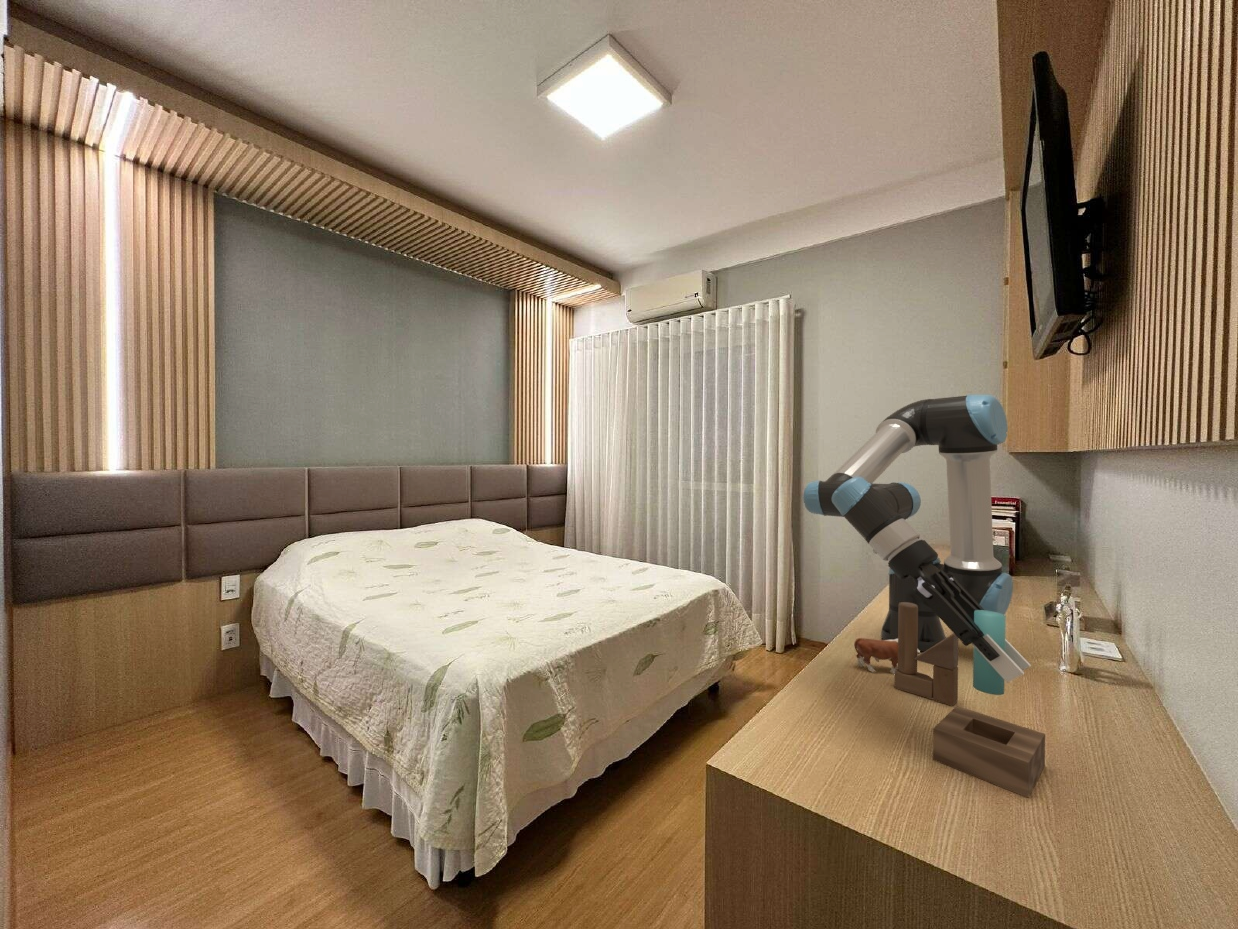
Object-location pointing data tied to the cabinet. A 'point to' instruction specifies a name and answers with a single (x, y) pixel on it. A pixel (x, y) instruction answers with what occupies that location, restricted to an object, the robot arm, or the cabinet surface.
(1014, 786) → the socket block
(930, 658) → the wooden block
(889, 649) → the bull figurine
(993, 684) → the peg
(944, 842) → the cabinet surface
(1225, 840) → the cabinet surface
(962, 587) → the robot arm
